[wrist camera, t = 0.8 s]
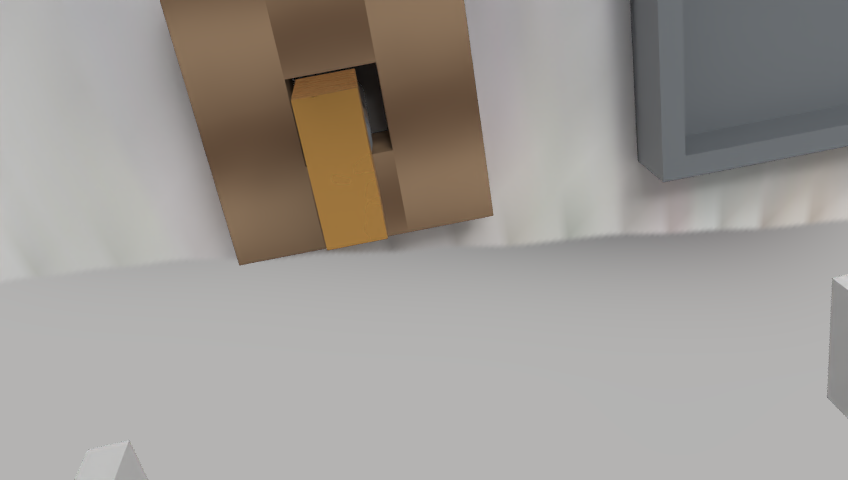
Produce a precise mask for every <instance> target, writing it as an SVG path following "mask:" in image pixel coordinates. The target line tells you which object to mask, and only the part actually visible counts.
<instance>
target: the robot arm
mask: <svg viewBox="0 0 848 480" xmlns="http://www.w3.org/2000/svg"><path fill="white" fill-rule="evenodd" d="M829 345H830V346H829V367H828V390H827V392H828V393H827V398H828V399H829V400H830V401H831V402H832V403H833V404H834V405H835V406H836V407H837V408H838V409H839V410H840V411H841V412H842V413H843V414H844V415H845V416H846V417H847V418H848V274H847V275H843V276H839V277H834V278H832V297H831V319H830V344H829ZM74 480H148V479H147V476H146V474H145V472H144V470H143V468H142V466H141V464H140V462H139V459H138V457H137V455H136V453H135V451H134V449H133V447H132V445H131V443H130V441H129V440H127V441H123V442H119V443H115V444H110V445H106V446H101V447H97V448H93V449H88V450H87V452H86V455H85V457H84V459H83V461H82V464H81V466H80V468H79V470H78V473H77V475H76V477H75V479H74Z"/></svg>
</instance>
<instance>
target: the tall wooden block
mask: <svg viewBox="0 0 848 480" xmlns="http://www.w3.org/2000/svg"><path fill="white" fill-rule="evenodd" d="M291 103H292V107H293V111H294V116H295V120H296V124H297V128H298V132H299V136H300V140H301V144H302V148H303V153H304V157H305V161H306V165H307V169H308V173H309V177H310V181H311V186H312V190H313V194H314V198H315V202H316V206H317V210H318V214H319V218H320V223H321V227H322V231H323V235H324V239H325V243H326V247H327V250H332V249H337V248H342V247H347V246H352V245H357V244H362V243H367V242H373V241H378V240H383V239H388V237H387V230H386V224H385V218H384V212H383V205H382V200H381V195H380V190H379V186H378V181H377V176H376V171H375V166H374V161H373V156H372V144H373V143H372V136H371V130H370V123H369V117H368V111H367V105H366V99H365V93H364V90H363V87H362V85H361V84H360V83H359V81H358V80H357V77H356V72H355V68H354V69H349V70H343V71H338V72H333V73H327V74H322V75H317V76H312V77H306V78H301V79H296V80H295V85H294V89H293V93H292V98H291Z"/></svg>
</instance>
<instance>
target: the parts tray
mask: <svg viewBox="0 0 848 480" xmlns="http://www.w3.org/2000/svg"><path fill="white" fill-rule="evenodd" d="M630 4H631V25H632V46H633V67H634V88H635V109H636V130H637V151H638V161H639V162H640V163H641V164H642V165H643V166H645V167H646V168H647V169H648V170H649V171H651V172H652V173H653V174H654V175H655V176H657V177H658V178H659V179H660V180H661V181H663V182H667V181H673V180H678V179H683V178H688V177H693V176H698V175H703V174H708V173H713V172H718V171H724V170H729V169H734V168H739V167H744V166H749V165H754V164H759V163H764V162H769V161H775V160H780V159H785V158H790V157H795V156H800V155H805V154H810V153H815V152H820V151H826V150H831V149H836V148H841V147H846V146H848V0H630Z"/></svg>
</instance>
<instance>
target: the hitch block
mask: <svg viewBox="0 0 848 480" xmlns="http://www.w3.org/2000/svg"><path fill="white" fill-rule="evenodd" d="M160 2H161V6H162V9H163V12H164V16H165V19H166V22H167V26H168V29H169V32H170V36H171V39H172V42H173V46H174V49H175V52H176V56H177V59H178V62H179V66H180V69H181V72H182V76H183V79H184V82H185V86H186V89H187V92H188V96H189V99H190V102H191V106H192V109H193V112H194V116H195V119H196V122H197V126H198V129H199V132H200V136H201V139H202V142H203V146H204V149H205V152H206V156H207V159H208V162H209V166H210V169H211V172H212V176H213V179H214V182H215V186H216V189H217V192H218V196H219V199H220V202H221V206H222V209H223V212H224V216H225V219H226V222H227V226H228V229H229V232H230V236H231V239H232V242H233V246H234V249H235V252H236V256H237V259H238V262H239V265H244V264H249V263H254V262H259V261H265V260H270V259H275V258H280V257H285V256H290V255H295V254H300V253H305V252H310V251H316V250H321V249H326V248H327V247H326V243H325V239H324V235H323V231H322V227H321V223H320V218H319V214H318V210H317V206H316V202H315V198H314V194H313V190H312V186H311V181H310V177H309V173H308V169H307V165H306V161H305V157H304V153H303V148H302V144H301V140H300V136H299V132H298V128H297V124H296V120H295V116H294V111H293V107H292V103H291V98H292V93H293V89H294V85H293V81H292V78H296V77H301V76H306V75H312V74H317V73H322V72H328V71H333V70H338V69H343V68H349V67H354V66H359V65H365V64H370V63H375V64H376V69H377V74H378V79H379V85H380V90H381V95H382V100H383V106H384V111H385V116H386V121H387V127H388V131H383V132H377V133H372V134H371V136H372V143H373V144H372V156H373V161H374V166H375V171H376V176H377V181H378V186H379V190H380V195H381V200H382V205H383V212H384V218H385V224H386V230H387V236H392V235H397V234H402V233H407V232H412V231H418V230H423V229H428V228H433V227H438V226H443V225H448V224H453V223H458V222H463V221H469V220H474V219H479V218H484V217H489V216H493V209H492V202H491V194H490V187H489V180H488V172H487V165H486V158H485V151H484V143H483V136H482V129H481V121H480V114H479V107H478V99H477V92H476V85H475V77H474V70H473V63H472V56H471V48H470V41H469V34H468V26H467V19H466V12H465V4H464V0H160Z"/></svg>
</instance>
